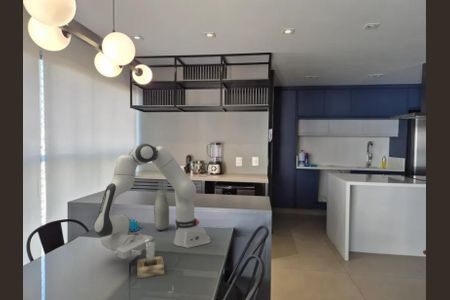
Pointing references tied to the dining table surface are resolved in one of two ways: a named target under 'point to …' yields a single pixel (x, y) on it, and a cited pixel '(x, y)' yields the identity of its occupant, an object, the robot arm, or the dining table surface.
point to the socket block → (150, 267)
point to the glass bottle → (161, 211)
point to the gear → (134, 225)
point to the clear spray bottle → (150, 251)
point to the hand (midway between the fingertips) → (148, 249)
